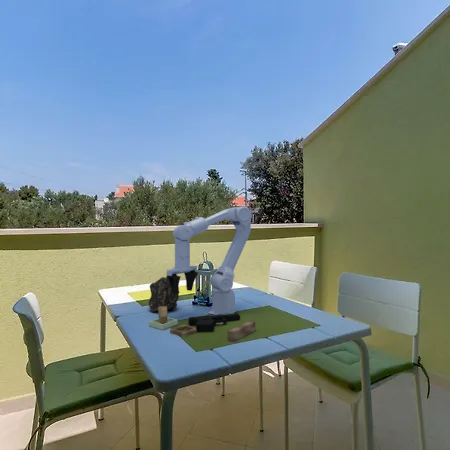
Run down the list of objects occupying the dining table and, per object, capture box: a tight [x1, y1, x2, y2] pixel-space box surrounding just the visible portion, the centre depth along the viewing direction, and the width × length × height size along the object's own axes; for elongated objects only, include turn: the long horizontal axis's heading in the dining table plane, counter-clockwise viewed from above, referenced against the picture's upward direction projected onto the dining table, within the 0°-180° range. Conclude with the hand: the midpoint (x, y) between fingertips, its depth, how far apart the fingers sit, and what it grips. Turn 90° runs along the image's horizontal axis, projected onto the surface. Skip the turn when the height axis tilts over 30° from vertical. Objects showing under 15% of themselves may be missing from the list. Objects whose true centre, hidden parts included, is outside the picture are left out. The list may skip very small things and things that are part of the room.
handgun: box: [187, 312, 241, 333], centre depth 112 cm, size 19×3×12 cm
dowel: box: [157, 306, 168, 324], centre depth 111 cm, size 3×3×6 cm
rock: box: [148, 276, 180, 313], centre depth 133 cm, size 14×13×15 cm
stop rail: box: [227, 320, 256, 343], centre depth 101 cm, size 13×2×3 cm, turn 143°
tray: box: [148, 316, 179, 331], centre depth 111 cm, size 7×7×2 cm
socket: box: [169, 324, 198, 338], centre depth 104 cm, size 7×7×1 cm
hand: (182, 292), depth 121 cm, fingers open, 7 cm apart
